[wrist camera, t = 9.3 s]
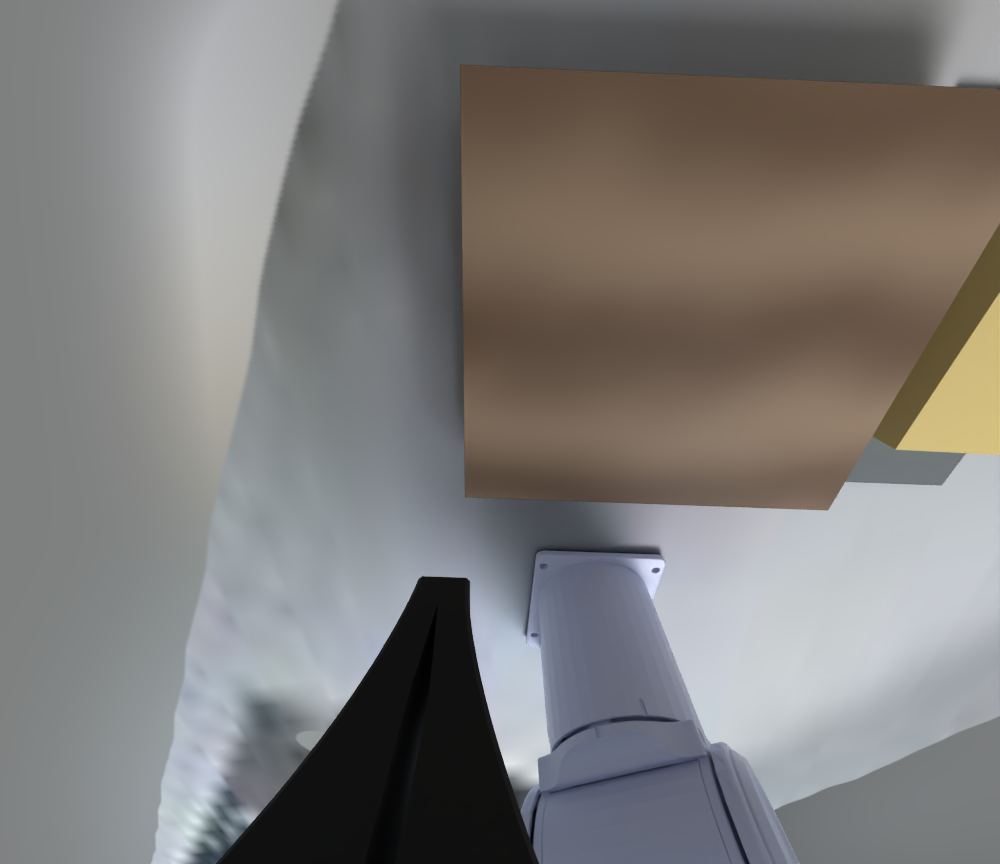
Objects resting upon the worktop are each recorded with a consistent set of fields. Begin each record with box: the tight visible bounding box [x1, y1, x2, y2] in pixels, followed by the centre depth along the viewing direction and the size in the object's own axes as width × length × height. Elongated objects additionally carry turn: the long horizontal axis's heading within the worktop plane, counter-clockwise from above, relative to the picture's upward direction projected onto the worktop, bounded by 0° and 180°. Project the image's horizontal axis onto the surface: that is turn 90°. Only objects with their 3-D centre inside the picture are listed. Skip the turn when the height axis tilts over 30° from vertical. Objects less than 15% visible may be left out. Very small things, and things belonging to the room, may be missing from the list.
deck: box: [460, 65, 1000, 510], centre depth 15 cm, size 14×16×4 cm
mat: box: [845, 437, 966, 485], centre depth 16 cm, size 16×9×1 cm, turn 178°
